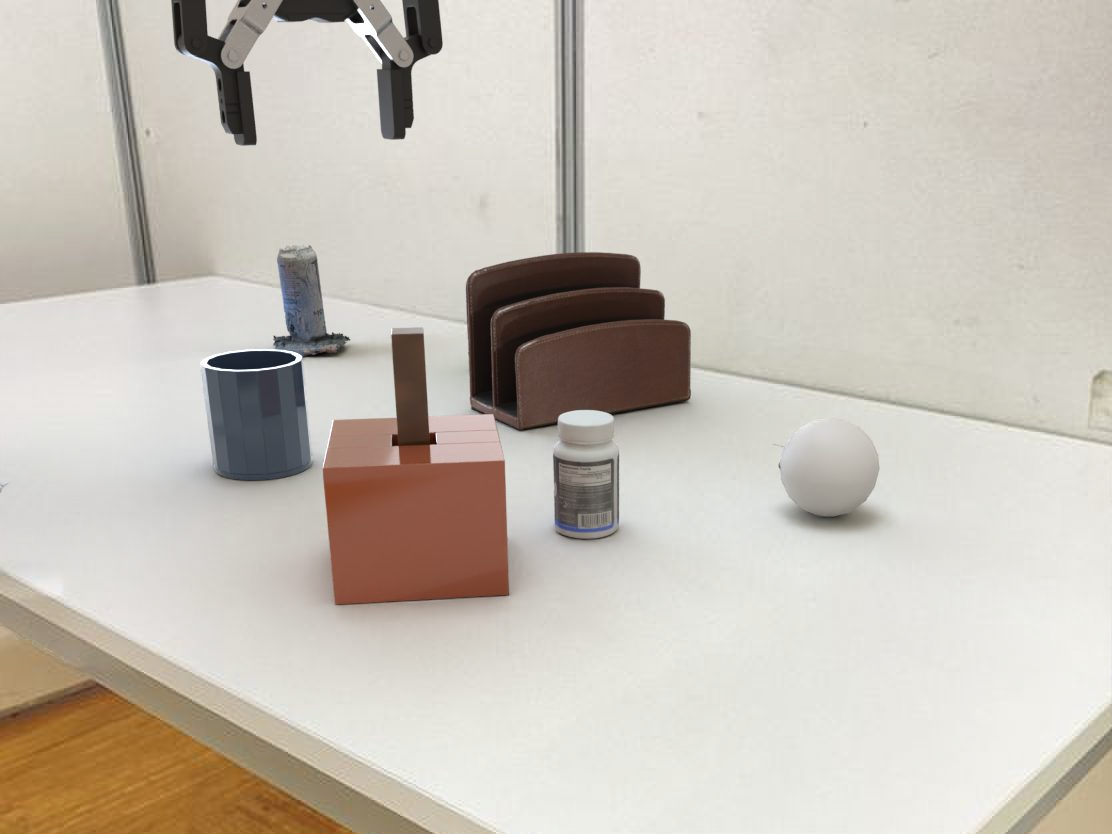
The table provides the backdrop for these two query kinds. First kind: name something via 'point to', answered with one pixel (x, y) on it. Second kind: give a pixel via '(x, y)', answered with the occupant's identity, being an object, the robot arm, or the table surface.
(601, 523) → the pill bottle
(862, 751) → the table surface
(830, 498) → the white ball
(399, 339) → the stick
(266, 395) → the cup
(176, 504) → the table surface
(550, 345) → the letter holder
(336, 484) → the tissue box
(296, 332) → the beverage can
